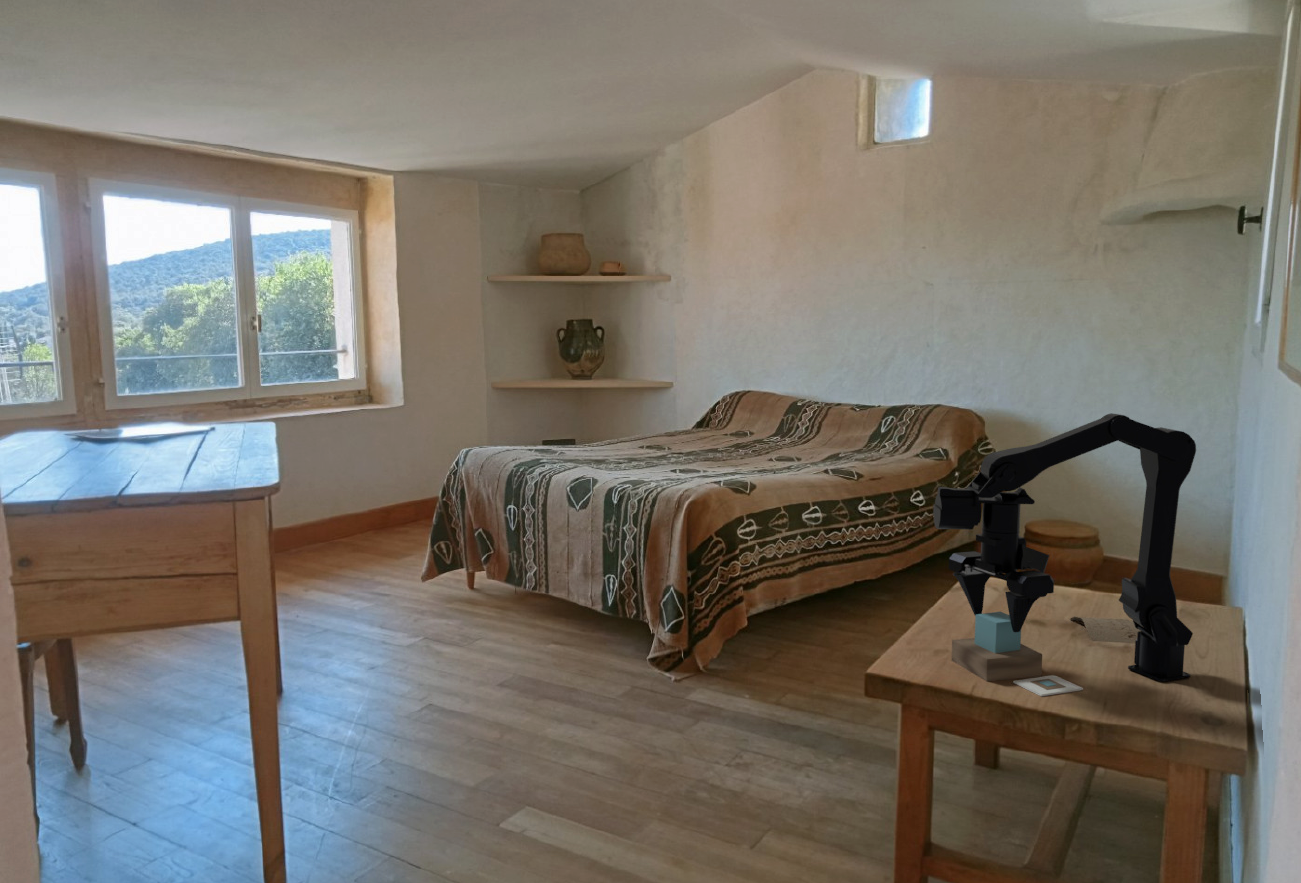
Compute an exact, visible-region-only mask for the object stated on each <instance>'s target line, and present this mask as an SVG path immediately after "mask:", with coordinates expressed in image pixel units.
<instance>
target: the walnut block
mask: <svg viewBox="0 0 1301 883" xmlns="http://www.w3.org/2000/svg"><path fill="white" fill-rule="evenodd" d="M950 661H951V662H953V663H955V664H957V665H959V666H960V667H961V668H963V669H965V670H966V671H968V672H969V673H972V674H974V675H975V676H976V677H978V678H980V679H982V680H983V681H985V682H994V681H1004V680H1006V681H1007V680H1013V679H1023V678H1025V679H1027V678H1037V677H1043V676H1042V674H1043V673H1042V672H1043V654H1042V653H1041V652H1039V651H1037V650H1034V649H1033V648H1030V647H1029V646H1026V645H1025V644H1023V643H1021V645H1020V650H1015V651H1008V652H1000V653H994V652H991V651H989V650H987V649H985V648H983V647H980V646H978V645H976V644H975V637H970V638H959V639H958V638H957V639H952V640H951V660H950Z"/></svg>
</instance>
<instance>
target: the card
mask: <svg viewBox="0 0 1301 883" xmlns="http://www.w3.org/2000/svg"><path fill="white" fill-rule="evenodd" d="M1013 684H1015V685H1016V686H1019V687H1021V688H1023V689H1025V690H1027V691H1029V692H1031V693H1033V694H1036V695H1038V696H1039V697H1047V696H1051V695H1059V694H1067V693H1071V692H1072V693H1073V692H1078V691H1083V690H1084V688H1083V687H1082V686H1079V685H1077V684H1075V683H1073V682H1070V681H1068V680H1066V679H1063V677H1060V676H1057V675H1055V674H1054V675H1053V674H1052V675H1051V674H1050V675H1045V676H1037V677H1029V678H1025V679H1018V680H1013Z"/></svg>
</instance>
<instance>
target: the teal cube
mask: <svg viewBox="0 0 1301 883" xmlns="http://www.w3.org/2000/svg"><path fill="white" fill-rule="evenodd" d="M974 624H975V625H974V638H975V644H976V645H978V646H980V647H983V648H985V649H987V650H989V651H991V652H994V653H1000V652H1008V651H1015V650H1020V645H1021V644H1022V642H1021V641H1022V630H1021V631H1020V632H1013V629H1012V626H1011V621H1010V616H1009V613H1008V614H1007V613H1005V612H1002V611H995V612H993V611H992V612H985V613H984V612H983V613H982V614H976V616H975V622H974Z"/></svg>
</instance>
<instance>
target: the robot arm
mask: <svg viewBox="0 0 1301 883" xmlns="http://www.w3.org/2000/svg"><path fill="white" fill-rule="evenodd" d="M1115 442H1120V443H1122V444H1124V445H1127V446H1130V447H1132V448H1135V449H1137V450H1139V455H1140V456H1139V457H1140V465H1141V469H1142V471H1143V475H1144V478H1145V482H1146V484H1145V485H1146V487H1145V488H1146V489H1145V496H1144V497H1145V498H1144V506H1143V516H1142V525H1141V532H1140V533H1141V535H1140V542H1139V543H1140V544H1139V553H1138V562H1137V568H1136V571H1135V573H1134V574H1133V576H1132V577H1131V578H1127V577H1122V578H1121V595H1120V597H1119V599H1118V602H1120V603H1122V609H1123V612H1124V613H1125V614H1126V616H1127V617H1128V618H1130V620H1131V621H1133V622H1134V625H1135V628H1137V629H1139V630H1140V631H1139V632H1138V633H1137V639H1136V640H1135V643H1134V657H1133V658H1134V661H1133V662H1134V663H1133V665H1128V667H1127V669H1128V670H1130V671H1132V672H1136V673H1137V674H1140V675H1142V676H1144V677H1148V678H1150V679H1152V680H1155V681H1157V682H1163V683H1164V682H1169V681H1175V680H1180V679H1181V680H1182V679H1188V678H1191V673H1189V672H1186V671H1184V661H1185V646H1188V645H1189V643H1190V641H1191V639H1192V637H1193V634H1194V633H1193V632H1192V631H1191V630H1190V628H1188V626H1186V624H1184V623H1183V622H1182V621H1181V620H1180V619H1179V618H1178V608H1177V596H1176V592H1175V590H1174V586H1173V582H1172V580H1171V579H1172V578H1171V568H1172V559H1173V550H1174V541H1175V533H1176V523H1177V514H1178V506H1179V498H1180V497H1179V496H1180V490H1181V488H1182V487H1181V486H1182V485H1183V484H1184V481H1185V480H1186V479H1187V477H1188V475H1189V474H1190V472H1191V469H1192V466H1193V463H1194V460H1195V456H1196V452H1197V443H1196V441H1195V440H1194V439H1193V438H1192V436H1190V434H1188V433H1186V432H1184V431H1182V430H1176V429H1171V428H1166V427H1162V426H1161V427H1153V426H1150V425H1147V424H1144V423H1142V422H1139V421H1136V420H1134V419H1132V418H1130V417H1129V416H1127V415H1124V414H1118V413H1107V414H1104V415H1103V416H1102V417H1101V418H1099V419H1096V420H1093V421H1091V422H1089V423H1085V424H1083V425H1080V426H1079V427H1076V428H1073V429H1070V430H1068V431H1065V432H1064V433H1061V434H1058V435H1056V436H1053V437H1050V438H1048V439H1045V440H1043V441H1039V442H1038V443H1035V444H1031V445H1027V446H1025V445H1024V446H1018V447H1011V448H1006V449H1003V450H998V451H992V452H991V453H989V454H987V455H986V456H985V457H984V458H983V461H982V463H981V465H980V471H979V472H978V473H977V475H976V476H975V477H974V478H973V479H972V480H971V482H970V483H969V484H968V485H967V486H966V488H954V487H952V488H951V487H947V486H940V487H939V486H938V487H937V494H936V495H935V496H936V497H935V501H934V504H933V523H934V527H935V529H937V530H974V528H975V526H979V524H980V523H981V533H979V534H978V533H977V534H975V541H976V542H979V543H981V544H980V545H981V546H980V552H978V551H976V550H975V551H974V550H973V551H963V552H954V553H952V554H951V555H950V557H949V558H948V570H950V571H953V572H952V574H953V576H954V577H956V579H957V582H958V584H959V585H960V587H961V589H962V591H963V593H964V595H965V597H966V599H967V602H968V604H969V606H970V608H971V610H972V613H973V615H974V617H976V614H983V609H984V600H985V590H986V589H985V588H986V584H987V582H988V581H989V579H990V578H991V576H992V577H994V578H997V579H1000V580H1003V581H1005V582H1006V587H1007V588H1008V590H1009V591H1005V598H1006V604H1007V609H1008V615H1009V616H1010V621H1011V626H1012V629H1013V632H1020V631H1021V632H1022V628H1023V626H1024V624H1025V621H1026V620H1027V617H1028V615H1029V612H1030V610H1031V608H1032V607H1033V605H1034V603H1035V602H1036V601H1037V600H1038V599H1040V598H1044V597H1046V596H1047V595H1048V594H1054V592H1055V591H1054V590H1055V580H1054V579H1053V577H1052V576H1051V575H1050V574H1048V573H1045V571H1046V567H1047V564H1048V561H1049V559H1050V554H1047V553H1044V552H1042V551H1039V550H1037V549H1034V548H1030V547H1027V540H1026V538H1025V537H1022V536H1021V535H1020V526H1021V525H1020V524H1021V505H1035V501H1036V500H1035V499H1033V498H1032V496H1030V495H1029V494H1028V493H1027V491H1026V489H1025V488H1023V487H1022V486H1024V485H1026V484H1028V483H1030V482H1031V481H1032V480H1035V479H1036V478H1037V477H1038V476H1039V475H1040V474H1041V473H1043V472H1044V471H1045V470H1048V469H1049V468H1052V467H1053V466H1057V465H1059V464H1061V463H1063V462H1066V461H1069V460H1071V459H1074V458H1077V457H1079V456H1081V455H1084V454H1086V453H1090V452H1092V451H1095V450H1098V449H1100V448H1103V447H1104V446H1105V447H1106V446H1107V445H1110V444H1113V443H1115ZM1011 491H1012V492H1011ZM1013 491H1014V492H1013ZM981 519H982V520H981ZM1028 569H1029V570H1028ZM1018 570H1021V571H1018Z"/></svg>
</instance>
